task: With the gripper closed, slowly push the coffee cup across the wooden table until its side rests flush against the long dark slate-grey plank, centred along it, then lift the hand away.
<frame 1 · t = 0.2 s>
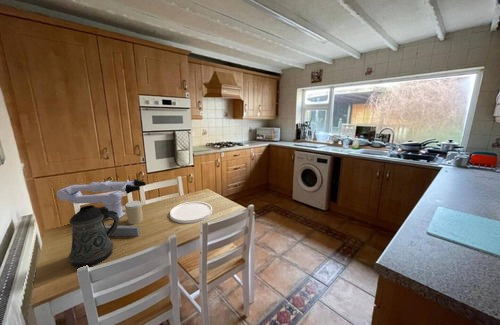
hand: (142, 185, 129), 21 cm above the table, tool horizontal, fingers open, 7 cm apart
coffee cup: (135, 221, 128), on the table
beer stein: (96, 254, 98), on the table
plate: (191, 213, 140), on the table
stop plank: (121, 234, 113), on the table
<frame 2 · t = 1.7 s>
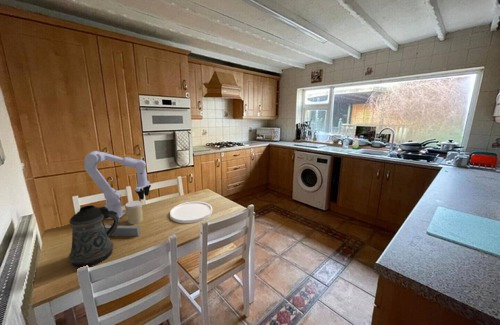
hand: (144, 197, 138), 10 cm above the table, tool pointing down, fingers open, 6 cm apart
nothing on the table moved.
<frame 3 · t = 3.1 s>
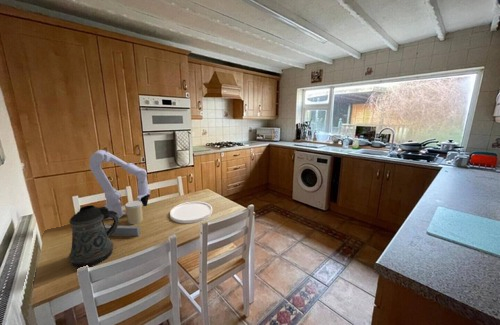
hand: (145, 205, 139), 4 cm above the table, tool pointing down, fingers closed
nothing on the table moved.
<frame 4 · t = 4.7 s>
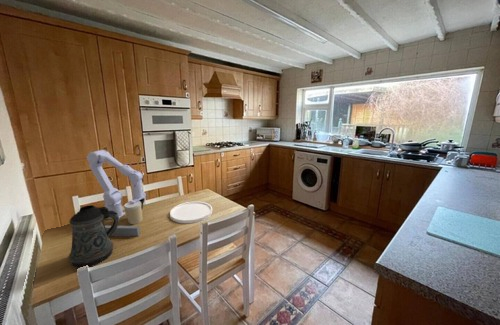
hand: (140, 209, 133), 4 cm above the table, tool pointing down, fingers closed
coffee cup: (135, 220, 128), on the table, touching gripper
everything else where it was.
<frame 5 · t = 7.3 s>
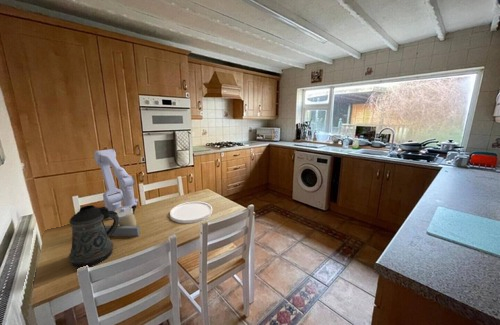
hand: (131, 217, 123), 5 cm above the table, tool pointing down, fingers closed, pressing on coffee cup
coffee cup: (129, 225, 121), point 1 cm above the table, touching gripper
everything else where it was.
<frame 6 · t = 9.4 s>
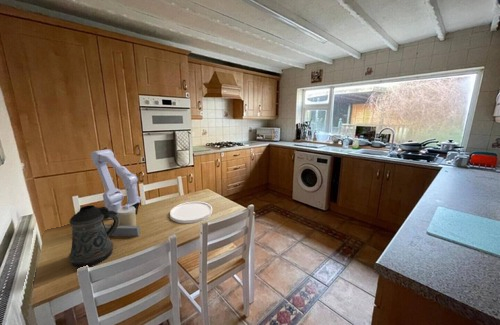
hand: (134, 214, 127), 4 cm above the table, tool pointing down, fingers closed
coffee cup: (128, 228, 120), on the table
everything else where it was.
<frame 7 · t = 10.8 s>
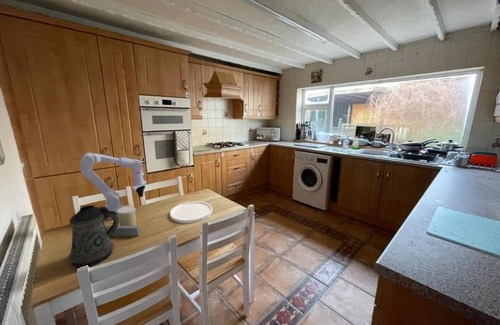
hand: (140, 196, 139), 10 cm above the table, tool pointing down, fingers closed
nothing on the table moved.
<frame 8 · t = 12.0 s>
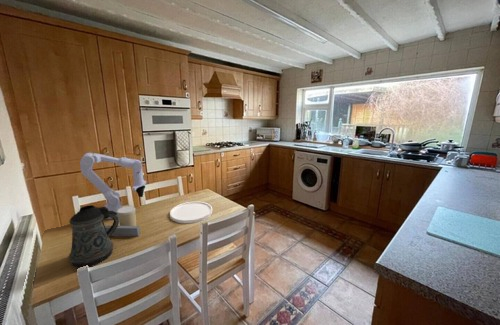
hand: (140, 196, 139), 10 cm above the table, tool pointing down, fingers closed
nothing on the table moved.
at the end: coffee cup inside the target area on the table beside the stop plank (1.2 cm from its centre), on the table; coffee cup tilted 0° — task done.
